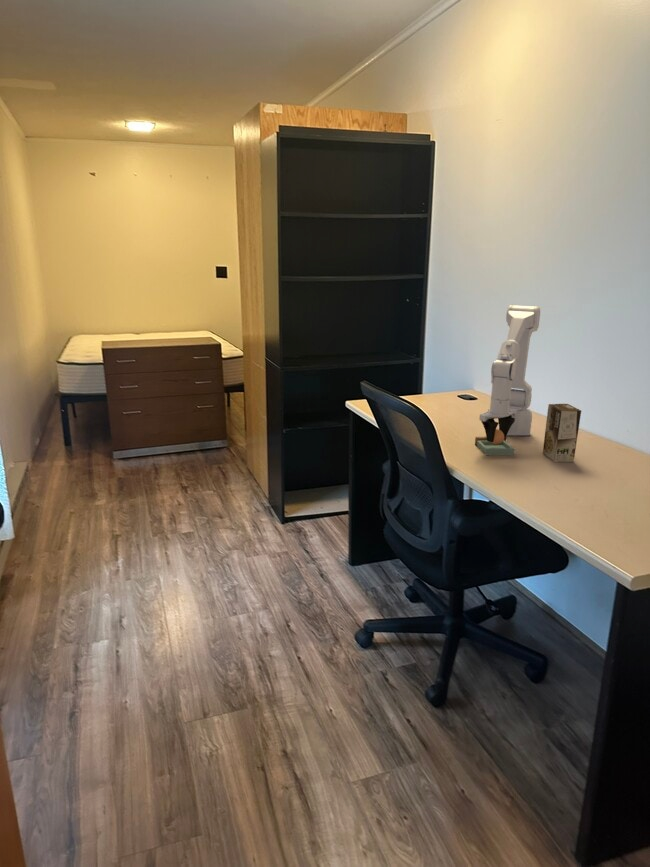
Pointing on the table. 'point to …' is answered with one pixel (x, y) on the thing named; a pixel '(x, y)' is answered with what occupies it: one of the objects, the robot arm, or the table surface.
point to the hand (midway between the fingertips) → (496, 440)
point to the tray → (495, 448)
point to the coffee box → (561, 432)
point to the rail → (482, 439)
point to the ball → (498, 437)
